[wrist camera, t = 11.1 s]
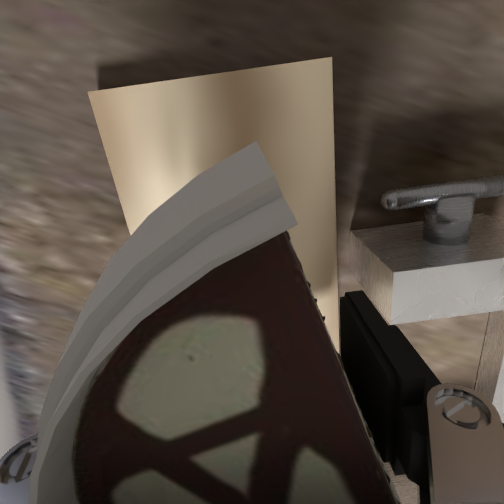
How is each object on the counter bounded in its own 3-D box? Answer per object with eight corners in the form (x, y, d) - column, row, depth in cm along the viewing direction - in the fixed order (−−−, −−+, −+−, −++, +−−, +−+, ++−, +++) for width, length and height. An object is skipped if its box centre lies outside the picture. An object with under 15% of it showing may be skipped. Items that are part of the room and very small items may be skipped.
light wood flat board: (325, 61, 13) (331, 56, 12) (335, 377, 20) (340, 389, 19) (98, 94, 13) (87, 91, 12) (185, 396, 20) (182, 409, 19)
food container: (106, 197, 12) (-304, 414, 3) (245, 131, 12) (270, 153, 2) (234, 401, 17) (228, 742, 7) (341, 363, 16) (481, 689, 7)
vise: (602, 148, 15) (763, 157, 10) (513, 449, 24) (580, 528, 19) (349, 182, 15) (397, 207, 11) (351, 468, 24) (378, 551, 19)
